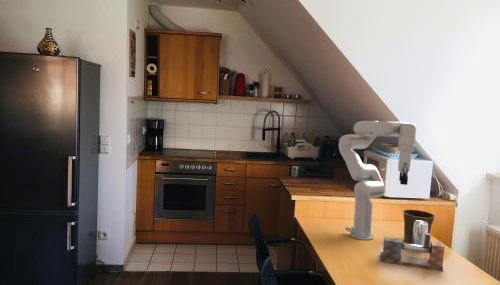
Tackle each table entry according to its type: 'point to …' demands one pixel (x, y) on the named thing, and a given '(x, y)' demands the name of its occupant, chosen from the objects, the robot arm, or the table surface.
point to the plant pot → (409, 222)
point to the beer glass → (419, 232)
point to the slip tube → (418, 247)
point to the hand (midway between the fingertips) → (403, 182)
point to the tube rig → (394, 256)
